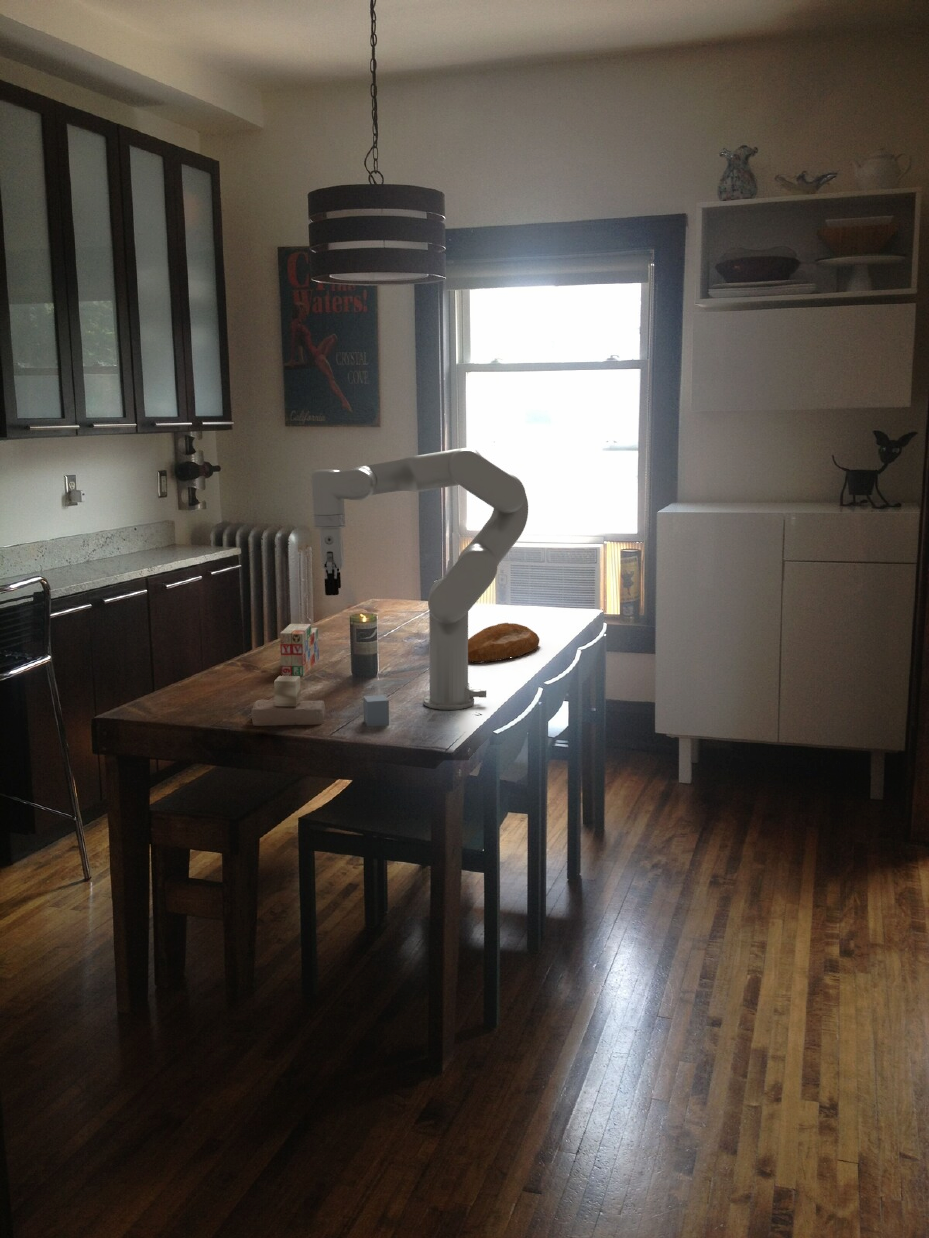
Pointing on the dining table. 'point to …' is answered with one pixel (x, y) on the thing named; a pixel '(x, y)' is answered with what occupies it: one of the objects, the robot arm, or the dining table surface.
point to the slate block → (376, 710)
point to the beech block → (287, 691)
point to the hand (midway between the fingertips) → (333, 591)
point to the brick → (288, 713)
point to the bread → (501, 642)
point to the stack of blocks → (298, 649)
